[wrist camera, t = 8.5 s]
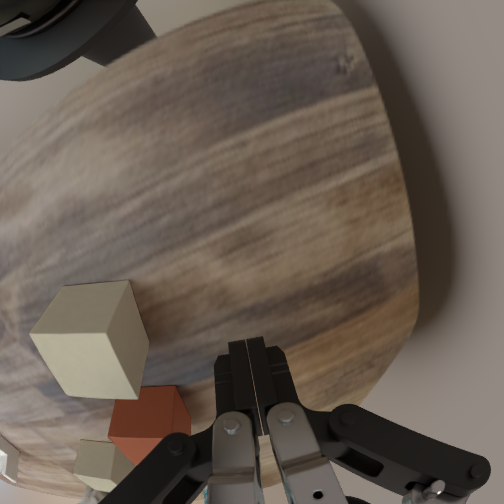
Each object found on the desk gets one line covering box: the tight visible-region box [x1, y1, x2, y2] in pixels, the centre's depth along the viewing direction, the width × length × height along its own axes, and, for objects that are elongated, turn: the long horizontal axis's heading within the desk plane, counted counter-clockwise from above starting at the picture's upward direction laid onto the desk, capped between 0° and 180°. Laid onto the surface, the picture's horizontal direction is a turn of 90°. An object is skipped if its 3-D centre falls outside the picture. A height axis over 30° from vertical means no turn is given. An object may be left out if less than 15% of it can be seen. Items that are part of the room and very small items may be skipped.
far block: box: [73, 440, 133, 492], centre depth 22 cm, size 5×5×5 cm
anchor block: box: [108, 385, 191, 465], centre depth 19 cm, size 5×5×5 cm
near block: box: [30, 280, 149, 399], centre depth 15 cm, size 5×5×5 cm
